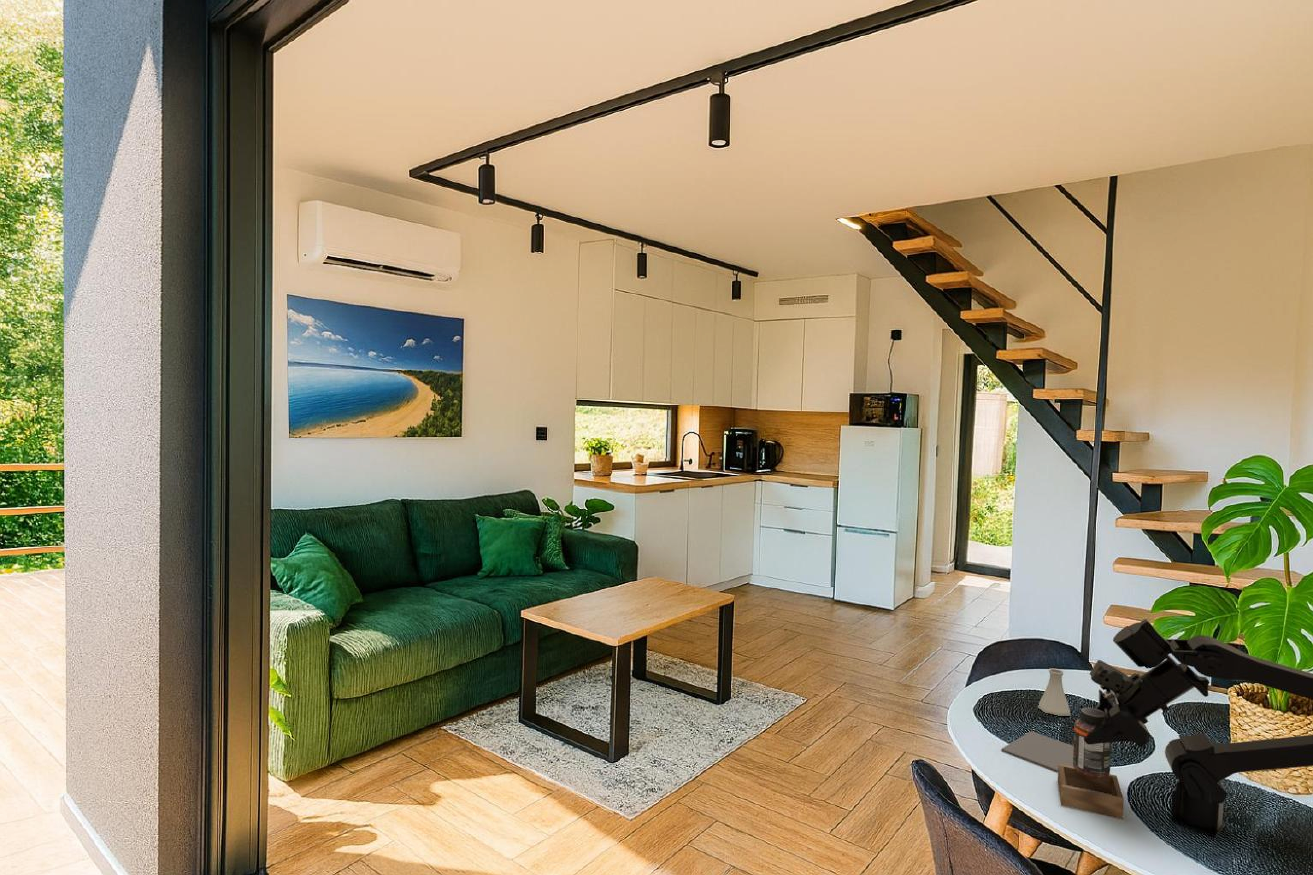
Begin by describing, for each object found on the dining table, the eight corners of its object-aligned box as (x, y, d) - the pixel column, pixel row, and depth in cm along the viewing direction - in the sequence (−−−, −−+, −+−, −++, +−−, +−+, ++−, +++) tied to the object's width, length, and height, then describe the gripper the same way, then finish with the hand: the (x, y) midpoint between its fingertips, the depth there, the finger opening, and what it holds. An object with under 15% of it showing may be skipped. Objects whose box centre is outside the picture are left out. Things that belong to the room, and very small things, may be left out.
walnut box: (1115, 793, 138) (1116, 775, 138) (1122, 819, 129) (1124, 799, 129) (1057, 781, 142) (1058, 763, 142) (1060, 805, 133) (1061, 786, 133)
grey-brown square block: (1100, 757, 152) (1100, 755, 152) (1072, 778, 143) (1073, 775, 143) (1030, 733, 163) (1031, 731, 163) (1001, 750, 154) (1001, 748, 154)
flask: (1075, 719, 171) (1078, 677, 170) (1042, 716, 172) (1044, 674, 172) (1065, 707, 178) (1067, 666, 178) (1033, 704, 179) (1035, 663, 179)
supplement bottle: (1075, 760, 139) (1078, 702, 139) (1112, 771, 136) (1115, 710, 135) (1069, 772, 135) (1072, 711, 134) (1107, 783, 131) (1110, 721, 131)
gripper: (1115, 636, 141) (1047, 682, 146) (1129, 666, 124) (1053, 717, 129) (1162, 684, 138) (1091, 729, 143) (1183, 721, 121) (1102, 771, 126)
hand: (1083, 734), depth 135 cm, fingers closed on supplement bottle, 6 cm apart
